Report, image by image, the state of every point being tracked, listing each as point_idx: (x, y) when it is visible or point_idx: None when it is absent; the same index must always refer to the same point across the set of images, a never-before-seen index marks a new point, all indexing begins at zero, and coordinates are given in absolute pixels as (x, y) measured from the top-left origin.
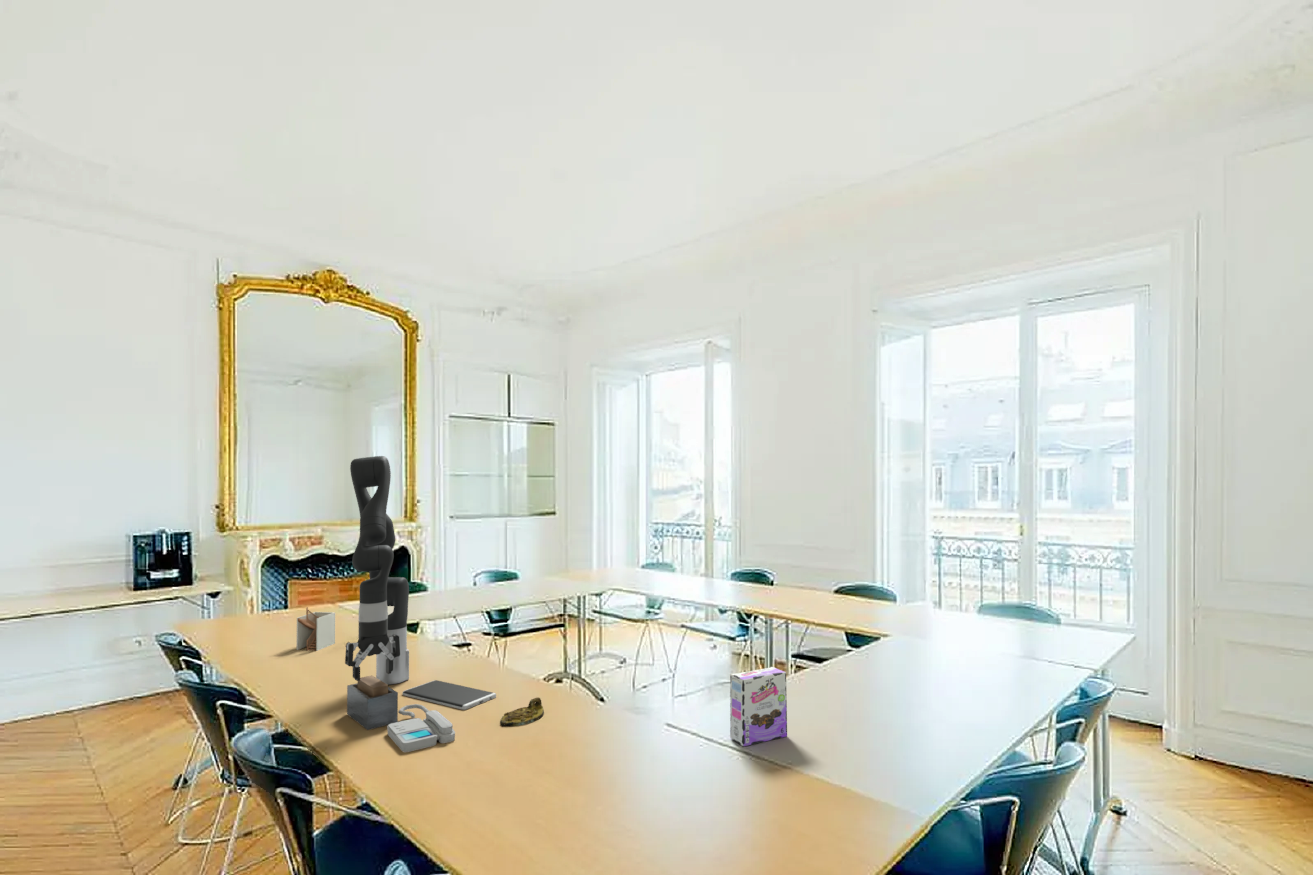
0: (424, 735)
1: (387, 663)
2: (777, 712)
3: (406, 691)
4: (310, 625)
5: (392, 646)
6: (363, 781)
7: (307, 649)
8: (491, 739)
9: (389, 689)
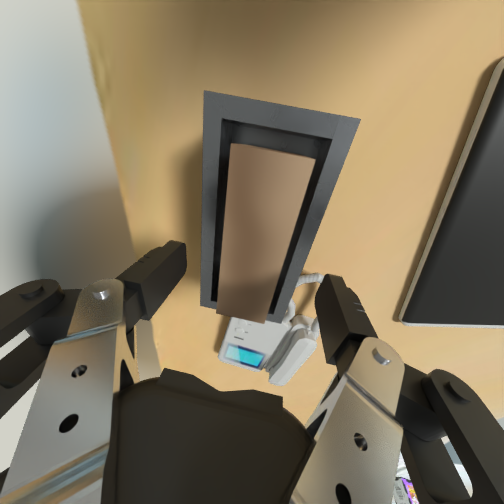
0: (249, 363)
1: (331, 329)
2: None
3: None
4: None
5: (497, 501)
6: (163, 358)
7: None
8: (308, 388)
9: (285, 290)
